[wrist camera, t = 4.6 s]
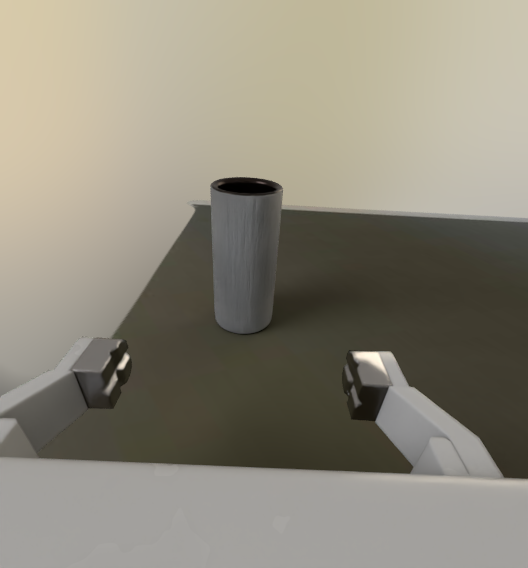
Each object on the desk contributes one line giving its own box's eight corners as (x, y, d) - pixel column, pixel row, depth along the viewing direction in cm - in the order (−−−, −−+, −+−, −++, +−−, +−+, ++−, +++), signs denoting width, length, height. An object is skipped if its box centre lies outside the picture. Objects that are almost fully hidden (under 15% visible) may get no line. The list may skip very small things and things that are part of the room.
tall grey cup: (210, 333, 22) (203, 191, 17) (219, 298, 26) (216, 175, 21) (271, 336, 22) (284, 196, 17) (271, 302, 26) (282, 179, 21)
